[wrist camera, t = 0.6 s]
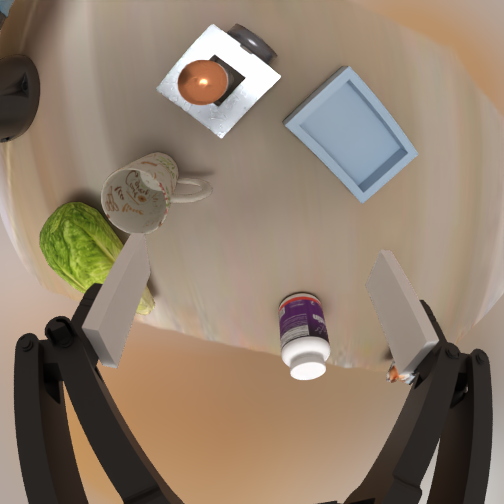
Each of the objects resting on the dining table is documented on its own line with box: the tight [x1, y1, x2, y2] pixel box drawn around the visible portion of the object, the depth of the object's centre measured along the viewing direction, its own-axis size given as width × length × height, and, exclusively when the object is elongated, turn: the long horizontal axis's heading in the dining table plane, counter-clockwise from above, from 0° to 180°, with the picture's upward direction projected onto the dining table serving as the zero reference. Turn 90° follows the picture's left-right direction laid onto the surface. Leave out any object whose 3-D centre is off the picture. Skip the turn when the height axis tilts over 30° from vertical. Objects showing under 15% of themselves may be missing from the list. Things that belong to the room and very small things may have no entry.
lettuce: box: [40, 202, 155, 315], centre depth 42 cm, size 12×24×13 cm
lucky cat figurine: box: [387, 360, 419, 383], centre depth 56 cm, size 15×12×14 cm
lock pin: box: [177, 60, 234, 105], centre depth 25 cm, size 4×4×13 cm
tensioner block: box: [156, 24, 281, 139], centre depth 27 cm, size 10×12×6 cm
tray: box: [283, 66, 418, 204], centre depth 33 cm, size 15×11×3 cm
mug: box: [101, 152, 213, 234], centre depth 33 cm, size 8×13×10 cm, turn 86°
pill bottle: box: [279, 293, 330, 380], centre depth 46 cm, size 8×8×14 cm
